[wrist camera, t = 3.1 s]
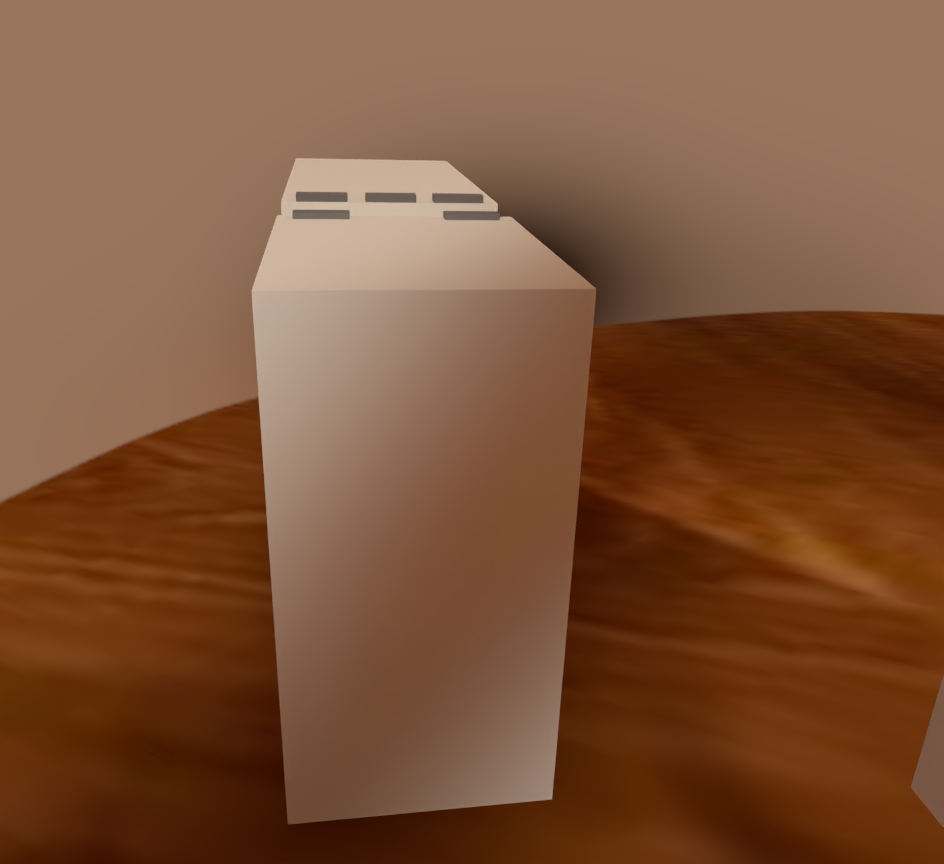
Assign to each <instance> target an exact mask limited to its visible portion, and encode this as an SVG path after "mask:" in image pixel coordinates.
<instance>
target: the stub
mask: <svg viewBox="0 0 944 864" xmlns="http://www.w3.org/2000/svg"><path fill="white" fill-rule="evenodd" d="M595 297H596V288H595V287H593V286H592V285H591V284H590V283H589V282H587V281H586V280H585V279H584V278H583V277H582V276H580V275H579V274H578V273H577V272H576V271H574V270H573V269H572V268H571V267H570V266H568V265H567V264H566V263H565V262H564V261H563V260H561V259H560V258H559V257H558V256H557V255H555V254H554V253H553V252H552V251H551V250H549V249H548V248H547V247H546V246H545V245H544V244H542V243H541V242H540V241H539V240H538V239H536V238H535V237H534V236H533V235H532V234H531V233H529V232H528V231H527V230H526V229H525V228H523V227H522V226H521V225H520V224H519V223H518V222H516V221H515V220H514V219H513V218H512V217H500V214H499V213H498V212H497V211H443V216H350V212H349V210H293V212H292V215H277V217H276V220H275V224H274V226H273V229H272V232H271V235H270V238H269V242H268V244H267V247H266V250H265V253H264V256H263V259H262V262H261V264H260V267H259V270H258V273H257V276H256V279H255V282H254V285H253V288H252V305H253V320H254V334H255V348H256V364H257V377H258V393H259V408H260V423H261V437H262V452H263V467H264V482H265V496H266V511H267V526H268V540H269V555H270V570H271V585H272V599H273V614H274V629H275V643H276V658H277V673H278V688H279V702H280V717H281V732H282V746H283V761H284V776H285V791H286V805H287V820H288V824H299V823H309V822H320V821H330V820H341V819H351V818H362V817H372V816H383V815H393V814H404V813H414V812H424V811H435V810H445V809H456V808H466V807H477V806H487V805H498V804H508V803H519V802H529V801H540V800H550V799H552V794H553V783H554V771H555V760H556V748H557V737H558V725H559V713H560V702H561V690H562V679H563V667H564V656H565V644H566V633H567V621H568V610H569V598H570V587H571V575H572V564H573V552H574V541H575V529H576V518H577V506H578V494H579V483H580V471H581V460H582V448H583V437H584V425H585V414H586V402H587V391H588V379H589V368H590V356H591V345H592V333H593V321H594V310H595Z"/></svg>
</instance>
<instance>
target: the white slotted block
mask: <svg viewBox="0 0 944 864" xmlns="http://www.w3.org/2000/svg"><path fill="white" fill-rule="evenodd" d="M497 205H498V204H497V203H496V202H495V201H494V200H492V199H491V198H490V197H489V196H488V195H486V194H485V193H484V192H483V191H481V190H480V189H479V188H478V187H477V186H476V185H474V184H473V183H472V182H471V181H469V180H468V179H467V178H466V177H464V176H463V175H462V174H461V173H460V172H459V171H457V170H456V169H455V168H454V167H453V166H451V165H450V164H449V163H448V162H446V161H422V160H421V161H420V160H418V161H417V160H363V159H360V160H359V159H303V158H302V159H301V158H300V159H299V158H296V160H295V163H294V166H293V169H292V172H291V175H290V178H289V180H288V183H287V186H286V189H285V192H284V195H283V198H282V200H281V209H282V210H281V211H282V215H292V212H293V210H349V212H350V216H443V211H497Z"/></svg>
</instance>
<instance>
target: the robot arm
mask: <svg viewBox="0 0 944 864" xmlns="http://www.w3.org/2000/svg"><path fill="white" fill-rule="evenodd" d="M911 788H912V789H913V791H914V792H915V793H916V794H917V795H918V797H919V798H920V799H921V800H922V802H923V803H924V804H925V805H926V807H927V808H928V809H929V810H930V811H931V813H932V814H933V815H934V816H935V818H936V819H937V820H938V821H939V823H940V824H941V825H942V826H943V828H944V676H943V679H942V683H941V686H940V690H939V693H938V696H937V700H936V703H935V707H934V710H933V713H932V717H931V720H930V724H929V727H928V730H927V734H926V737H925V741H924V744H923V747H922V751H921V754H920V758H919V761H918V764H917V768H916V771H915V775H914V778H913V782H912V785H911Z"/></svg>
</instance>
